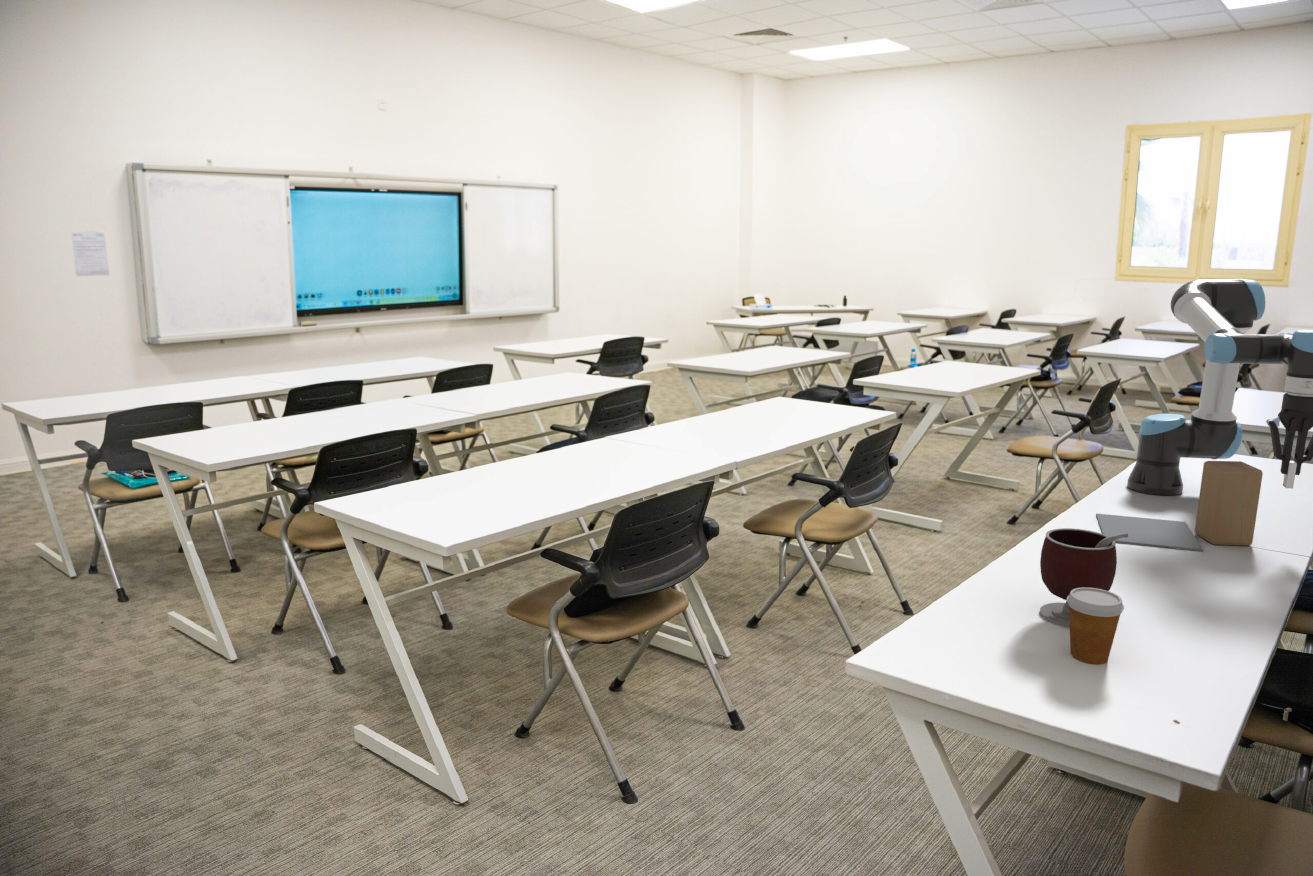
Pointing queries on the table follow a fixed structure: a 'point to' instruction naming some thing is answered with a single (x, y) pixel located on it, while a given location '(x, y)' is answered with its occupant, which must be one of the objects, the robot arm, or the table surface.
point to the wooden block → (1228, 502)
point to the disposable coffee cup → (1093, 623)
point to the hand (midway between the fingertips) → (1287, 486)
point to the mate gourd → (1075, 566)
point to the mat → (1149, 531)
